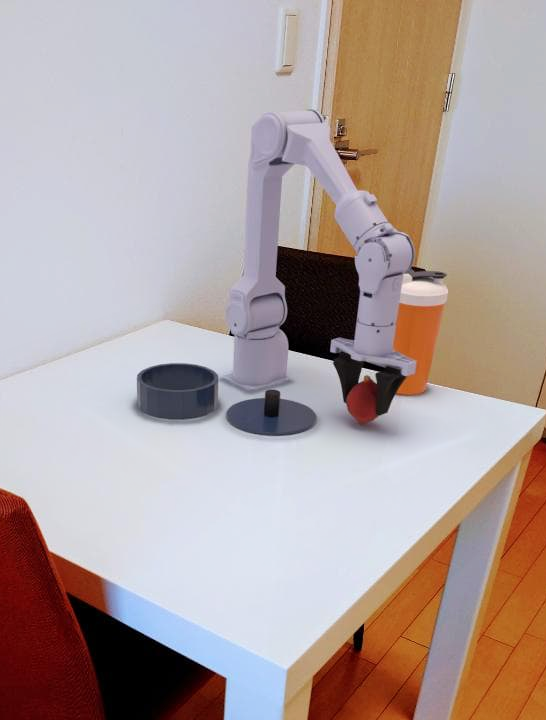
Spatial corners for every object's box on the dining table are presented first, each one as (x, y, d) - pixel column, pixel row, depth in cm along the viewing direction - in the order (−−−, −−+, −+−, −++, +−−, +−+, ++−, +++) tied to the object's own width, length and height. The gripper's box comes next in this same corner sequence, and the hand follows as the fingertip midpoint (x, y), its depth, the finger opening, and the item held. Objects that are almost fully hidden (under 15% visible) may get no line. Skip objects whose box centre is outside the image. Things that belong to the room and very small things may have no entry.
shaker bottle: (432, 399, 138) (454, 280, 128) (379, 395, 140) (396, 277, 129) (429, 380, 146) (448, 267, 135) (378, 377, 147) (394, 264, 137)
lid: (275, 397, 139) (277, 370, 137) (334, 425, 129) (337, 396, 126) (208, 416, 132) (209, 388, 130) (265, 447, 122) (267, 416, 120)
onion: (379, 417, 130) (385, 369, 126) (383, 432, 125) (391, 383, 121) (342, 416, 130) (348, 368, 126) (345, 430, 125) (351, 381, 121)
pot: (186, 386, 144) (186, 358, 141) (233, 410, 134) (234, 380, 132) (122, 403, 137) (121, 373, 135) (167, 429, 128) (167, 397, 125)
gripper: (320, 315, 122) (312, 400, 129) (400, 338, 112) (386, 428, 119) (351, 306, 125) (341, 389, 133) (430, 328, 116) (415, 416, 123)
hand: (364, 407), depth 126 cm, fingers closed on onion, 6 cm apart
